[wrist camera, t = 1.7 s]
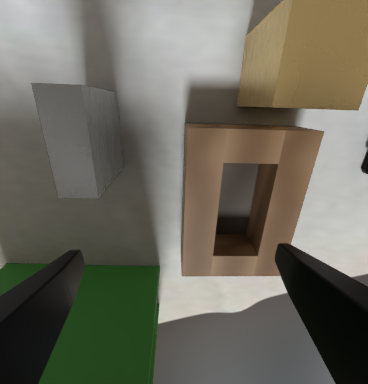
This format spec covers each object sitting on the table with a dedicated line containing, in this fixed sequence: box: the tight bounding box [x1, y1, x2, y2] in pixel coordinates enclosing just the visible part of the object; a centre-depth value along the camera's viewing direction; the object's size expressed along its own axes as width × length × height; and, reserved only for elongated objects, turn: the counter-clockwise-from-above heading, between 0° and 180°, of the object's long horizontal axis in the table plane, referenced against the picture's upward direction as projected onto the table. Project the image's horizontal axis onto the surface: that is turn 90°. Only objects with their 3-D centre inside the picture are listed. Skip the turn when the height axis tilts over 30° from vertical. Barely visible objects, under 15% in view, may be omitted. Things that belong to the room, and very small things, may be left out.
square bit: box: [237, 0, 368, 110], centre depth 14 cm, size 5×5×7 cm
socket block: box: [181, 123, 324, 276], centre depth 19 cm, size 10×14×4 cm
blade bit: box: [31, 83, 124, 199], centre depth 15 cm, size 2×6×7 cm, turn 178°
